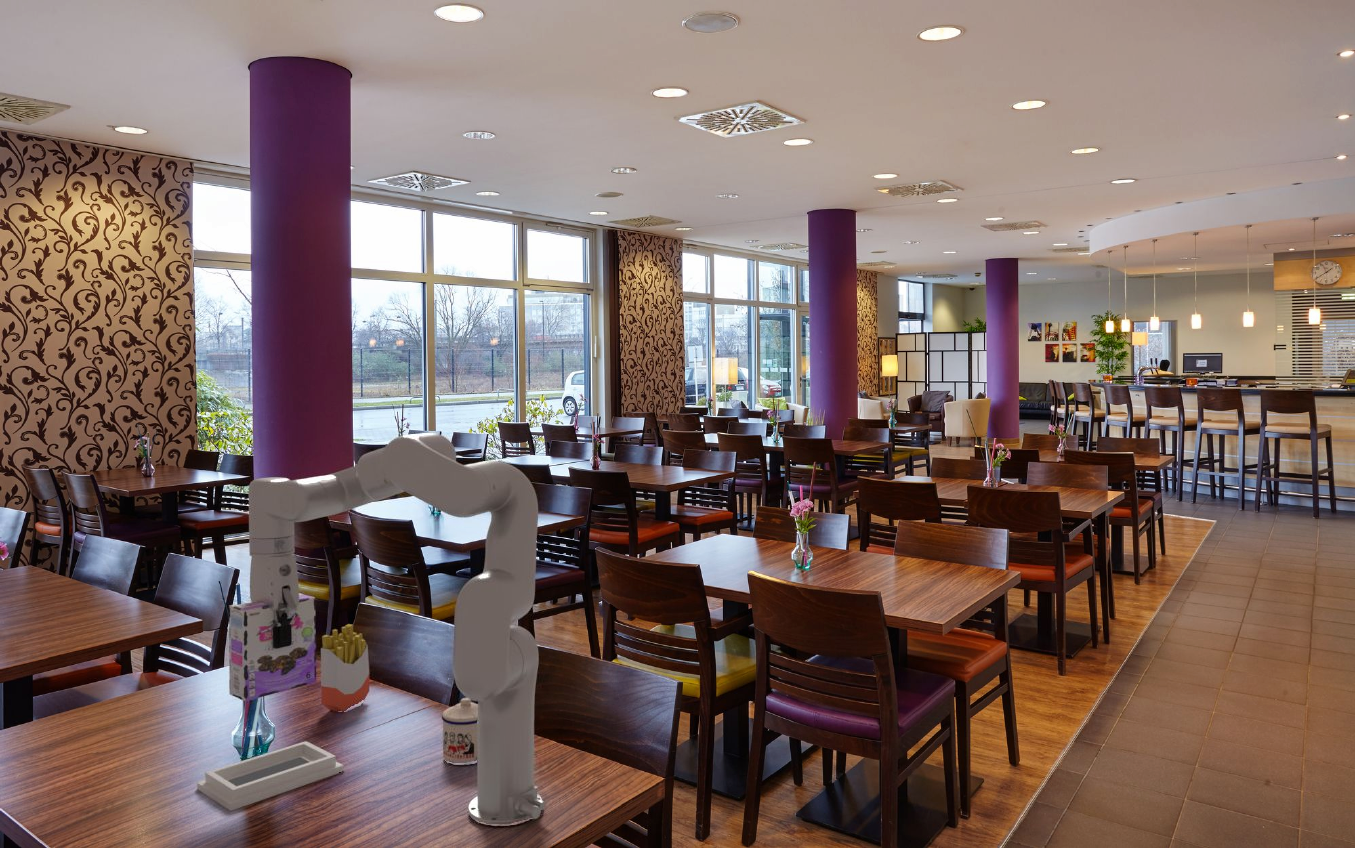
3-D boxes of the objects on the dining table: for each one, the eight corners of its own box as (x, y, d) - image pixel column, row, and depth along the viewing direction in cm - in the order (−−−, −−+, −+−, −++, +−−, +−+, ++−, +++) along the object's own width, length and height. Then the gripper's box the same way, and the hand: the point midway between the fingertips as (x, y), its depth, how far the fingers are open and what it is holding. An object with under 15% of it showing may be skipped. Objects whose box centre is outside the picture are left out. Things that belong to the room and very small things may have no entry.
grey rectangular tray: (343, 771, 171) (343, 755, 171) (230, 810, 155) (230, 793, 155) (308, 753, 179) (308, 738, 179) (197, 788, 163) (196, 772, 163)
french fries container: (370, 701, 209) (370, 623, 208) (337, 717, 199) (337, 635, 198) (354, 698, 211) (354, 622, 210) (321, 714, 200) (320, 633, 200)
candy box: (244, 702, 159) (243, 609, 159) (228, 695, 163) (227, 604, 162) (317, 682, 170) (316, 595, 170) (300, 676, 174) (299, 591, 173)
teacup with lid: (433, 764, 175) (432, 704, 174) (456, 746, 183) (456, 689, 183) (490, 771, 172) (490, 710, 171) (510, 752, 180) (510, 694, 180)
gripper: (315, 548, 163) (316, 647, 164) (269, 537, 174) (270, 631, 175) (274, 554, 157) (276, 657, 158) (229, 542, 168) (231, 639, 169)
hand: (273, 642), depth 166 cm, fingers closed on candy box, 6 cm apart
